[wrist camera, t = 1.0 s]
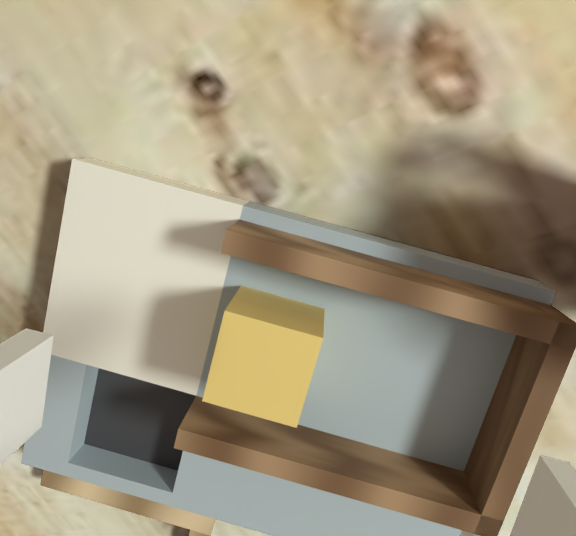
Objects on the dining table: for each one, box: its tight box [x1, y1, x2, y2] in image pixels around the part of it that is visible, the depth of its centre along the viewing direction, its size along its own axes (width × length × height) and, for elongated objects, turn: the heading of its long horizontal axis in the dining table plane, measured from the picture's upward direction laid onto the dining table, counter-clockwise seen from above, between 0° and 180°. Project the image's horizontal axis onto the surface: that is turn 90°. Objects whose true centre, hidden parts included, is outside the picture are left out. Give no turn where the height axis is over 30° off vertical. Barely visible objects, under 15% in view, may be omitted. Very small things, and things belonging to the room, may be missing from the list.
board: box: [21, 158, 556, 536], centre depth 34 cm, size 28×20×2 cm
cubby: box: [174, 219, 576, 536], centre depth 30 cm, size 18×12×4 cm
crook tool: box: [41, 470, 215, 536], centre depth 38 cm, size 12×5×1 cm, turn 75°
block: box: [202, 286, 325, 428], centre depth 29 cm, size 5×5×5 cm
